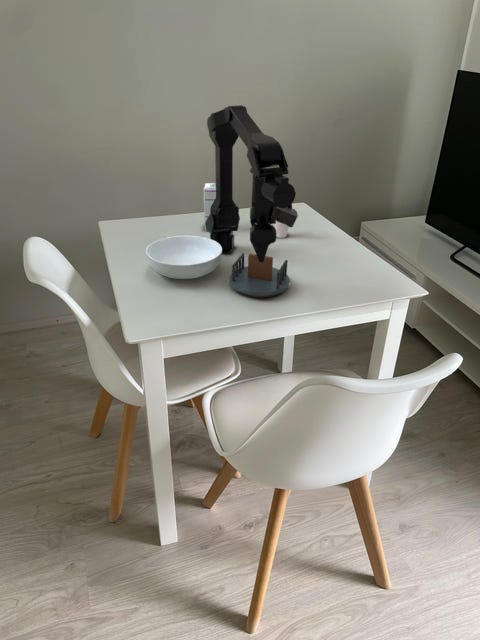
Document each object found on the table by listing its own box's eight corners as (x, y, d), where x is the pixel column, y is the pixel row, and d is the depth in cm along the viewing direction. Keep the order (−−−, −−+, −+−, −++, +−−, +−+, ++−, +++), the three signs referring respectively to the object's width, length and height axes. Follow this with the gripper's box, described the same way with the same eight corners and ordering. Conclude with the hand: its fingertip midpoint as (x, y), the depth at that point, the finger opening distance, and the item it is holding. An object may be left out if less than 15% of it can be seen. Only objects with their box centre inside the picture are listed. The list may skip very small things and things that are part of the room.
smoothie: (294, 234, 171) (297, 192, 164) (284, 240, 166) (287, 198, 159) (277, 230, 174) (279, 189, 167) (267, 236, 169) (269, 194, 162)
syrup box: (221, 231, 172) (222, 188, 164) (203, 231, 172) (203, 187, 164) (222, 225, 177) (222, 183, 169) (205, 224, 177) (204, 182, 169)
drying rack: (280, 300, 130) (282, 273, 126) (220, 289, 134) (220, 263, 130) (296, 272, 144) (298, 247, 140) (241, 263, 148) (242, 239, 144)
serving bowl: (229, 260, 153) (229, 238, 149) (211, 292, 135) (211, 268, 132) (161, 252, 156) (160, 231, 153) (135, 283, 139) (133, 260, 135)
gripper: (300, 208, 118) (294, 271, 126) (294, 184, 134) (289, 241, 142) (251, 207, 118) (249, 269, 126) (251, 183, 134) (249, 240, 142)
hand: (261, 254), depth 134 cm, fingers open, 9 cm apart
